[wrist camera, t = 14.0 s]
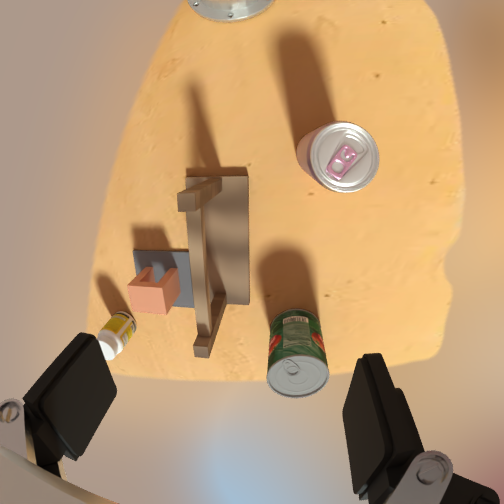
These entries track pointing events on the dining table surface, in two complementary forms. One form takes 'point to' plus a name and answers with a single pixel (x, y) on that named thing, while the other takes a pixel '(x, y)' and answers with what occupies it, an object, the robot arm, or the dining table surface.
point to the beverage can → (339, 156)
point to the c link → (154, 291)
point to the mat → (163, 263)
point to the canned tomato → (296, 355)
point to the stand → (216, 249)
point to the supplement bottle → (116, 334)
